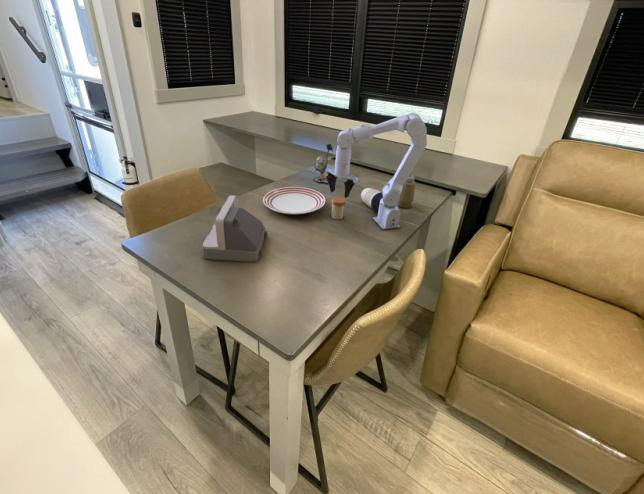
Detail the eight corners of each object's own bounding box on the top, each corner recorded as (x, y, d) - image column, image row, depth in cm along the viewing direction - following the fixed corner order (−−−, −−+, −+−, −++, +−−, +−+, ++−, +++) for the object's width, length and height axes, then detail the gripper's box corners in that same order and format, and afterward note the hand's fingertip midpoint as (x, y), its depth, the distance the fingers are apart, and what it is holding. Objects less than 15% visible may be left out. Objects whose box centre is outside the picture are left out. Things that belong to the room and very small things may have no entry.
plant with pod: (319, 175, 180) (321, 138, 170) (334, 181, 173) (338, 144, 163) (308, 178, 175) (310, 141, 165) (324, 185, 168) (326, 146, 158)
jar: (345, 218, 138) (346, 203, 135) (333, 219, 137) (335, 204, 133) (340, 213, 143) (342, 197, 139) (329, 214, 141) (330, 198, 138)
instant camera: (222, 226, 127) (218, 190, 119) (274, 233, 124) (274, 197, 117) (195, 257, 108) (189, 217, 101) (255, 267, 106) (254, 227, 99)
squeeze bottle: (410, 202, 157) (418, 166, 148) (413, 210, 150) (421, 172, 141) (393, 200, 157) (400, 164, 148) (395, 208, 150) (402, 171, 141)
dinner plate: (252, 213, 137) (252, 206, 135) (276, 188, 161) (276, 182, 159) (316, 224, 132) (316, 217, 131) (330, 197, 156) (331, 191, 154)
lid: (347, 205, 135) (347, 202, 134) (334, 207, 133) (334, 203, 133) (342, 199, 140) (342, 196, 139) (329, 200, 138) (330, 197, 137)
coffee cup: (372, 206, 155) (387, 216, 141) (355, 201, 151) (370, 211, 138) (379, 188, 153) (395, 196, 139) (362, 183, 149) (378, 191, 136)
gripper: (364, 164, 127) (359, 196, 134) (333, 155, 135) (330, 186, 141) (354, 169, 122) (350, 202, 129) (323, 159, 130) (320, 191, 136)
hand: (339, 194), depth 135 cm, fingers open, 6 cm apart
